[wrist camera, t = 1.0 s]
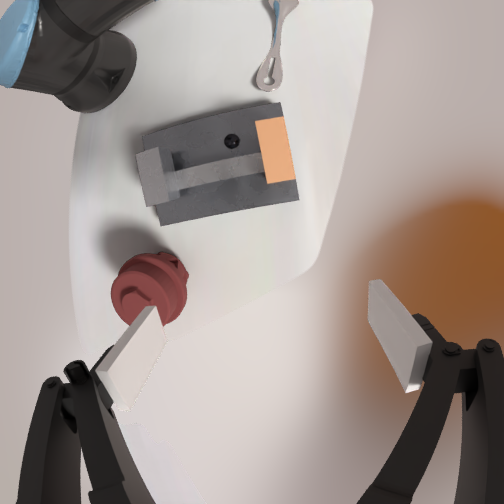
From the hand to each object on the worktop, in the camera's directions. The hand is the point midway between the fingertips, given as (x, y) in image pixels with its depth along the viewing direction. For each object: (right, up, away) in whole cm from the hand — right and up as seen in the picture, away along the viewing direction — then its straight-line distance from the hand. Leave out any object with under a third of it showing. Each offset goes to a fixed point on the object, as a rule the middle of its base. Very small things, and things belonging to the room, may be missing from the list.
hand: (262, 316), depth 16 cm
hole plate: (-5, +16, +21) cm, 27 cm away
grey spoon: (+3, +35, +15) cm, 38 cm away
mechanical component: (-14, +1, +26) cm, 29 cm away
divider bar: (-5, +15, +18) cm, 24 cm away
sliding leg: (+2, +16, +17) cm, 23 cm away
